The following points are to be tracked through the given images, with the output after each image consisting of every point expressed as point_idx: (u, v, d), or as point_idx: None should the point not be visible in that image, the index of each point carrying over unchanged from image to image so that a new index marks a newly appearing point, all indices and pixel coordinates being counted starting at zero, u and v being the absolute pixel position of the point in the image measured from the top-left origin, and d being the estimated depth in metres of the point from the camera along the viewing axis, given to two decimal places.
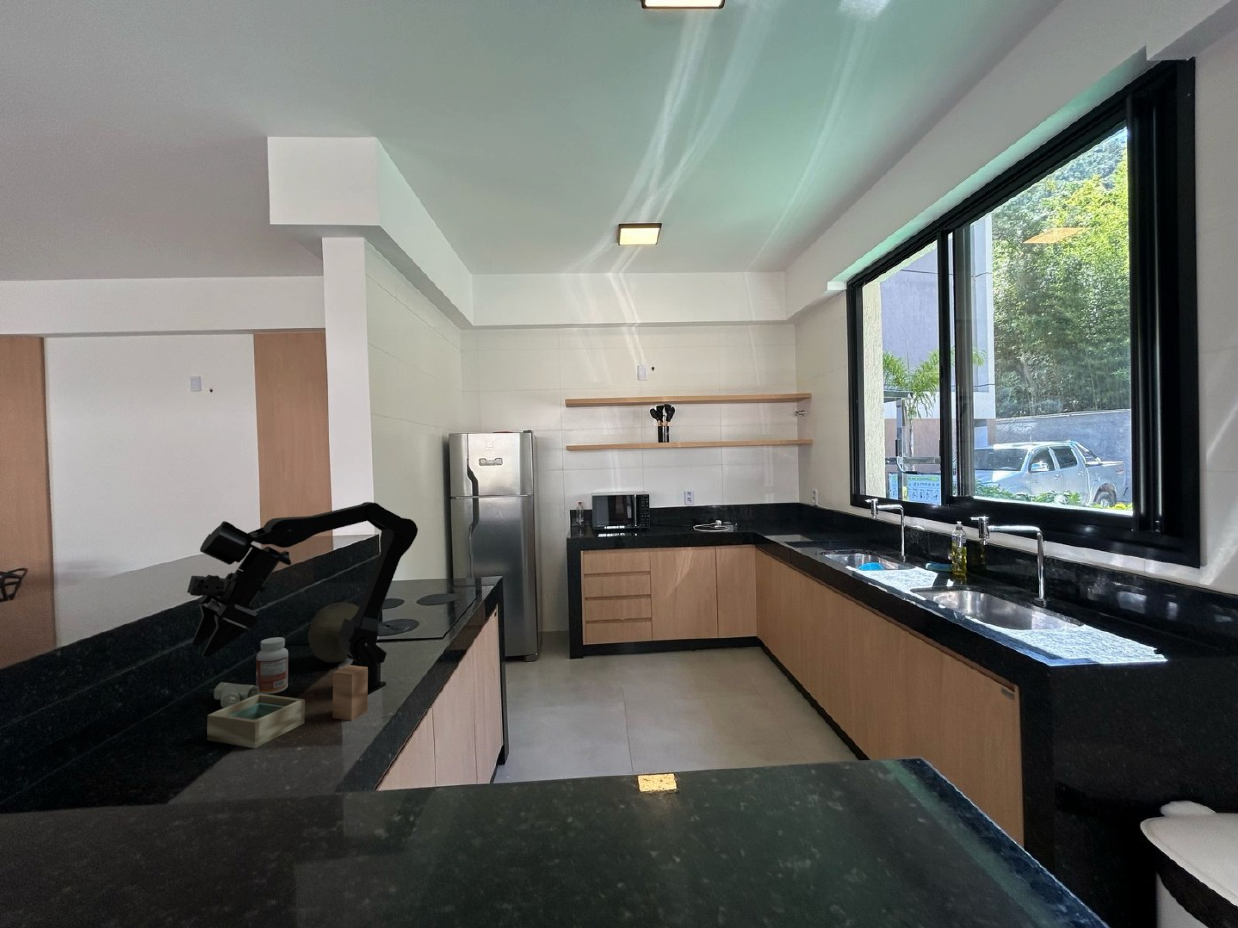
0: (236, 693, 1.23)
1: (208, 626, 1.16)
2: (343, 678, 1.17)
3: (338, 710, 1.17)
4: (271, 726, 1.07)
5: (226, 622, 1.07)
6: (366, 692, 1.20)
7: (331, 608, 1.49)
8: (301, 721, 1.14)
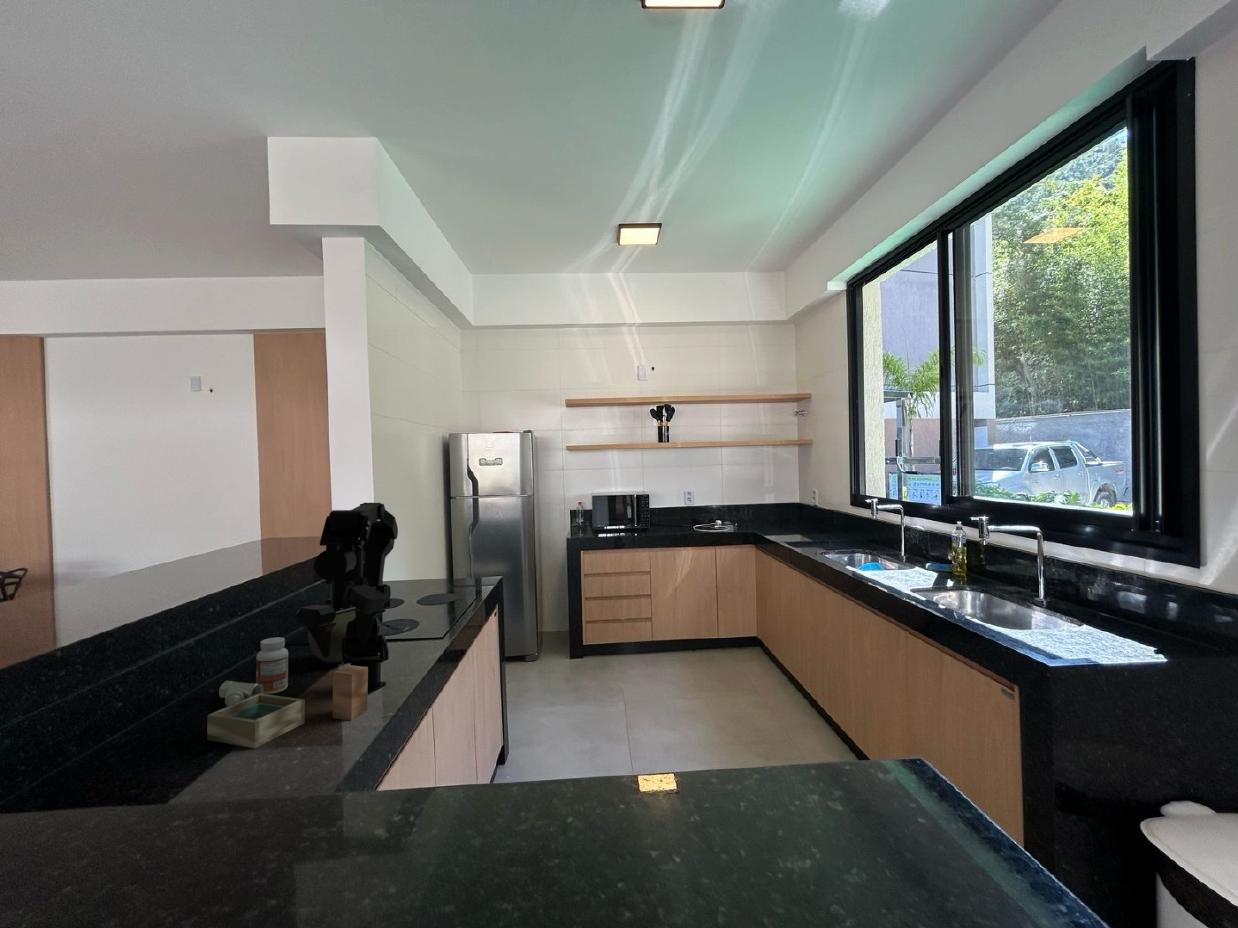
0: (240, 691, 1.23)
1: None
2: (343, 678, 1.17)
3: (338, 710, 1.17)
4: (271, 726, 1.07)
5: None
6: (366, 692, 1.20)
7: None
8: (301, 721, 1.14)
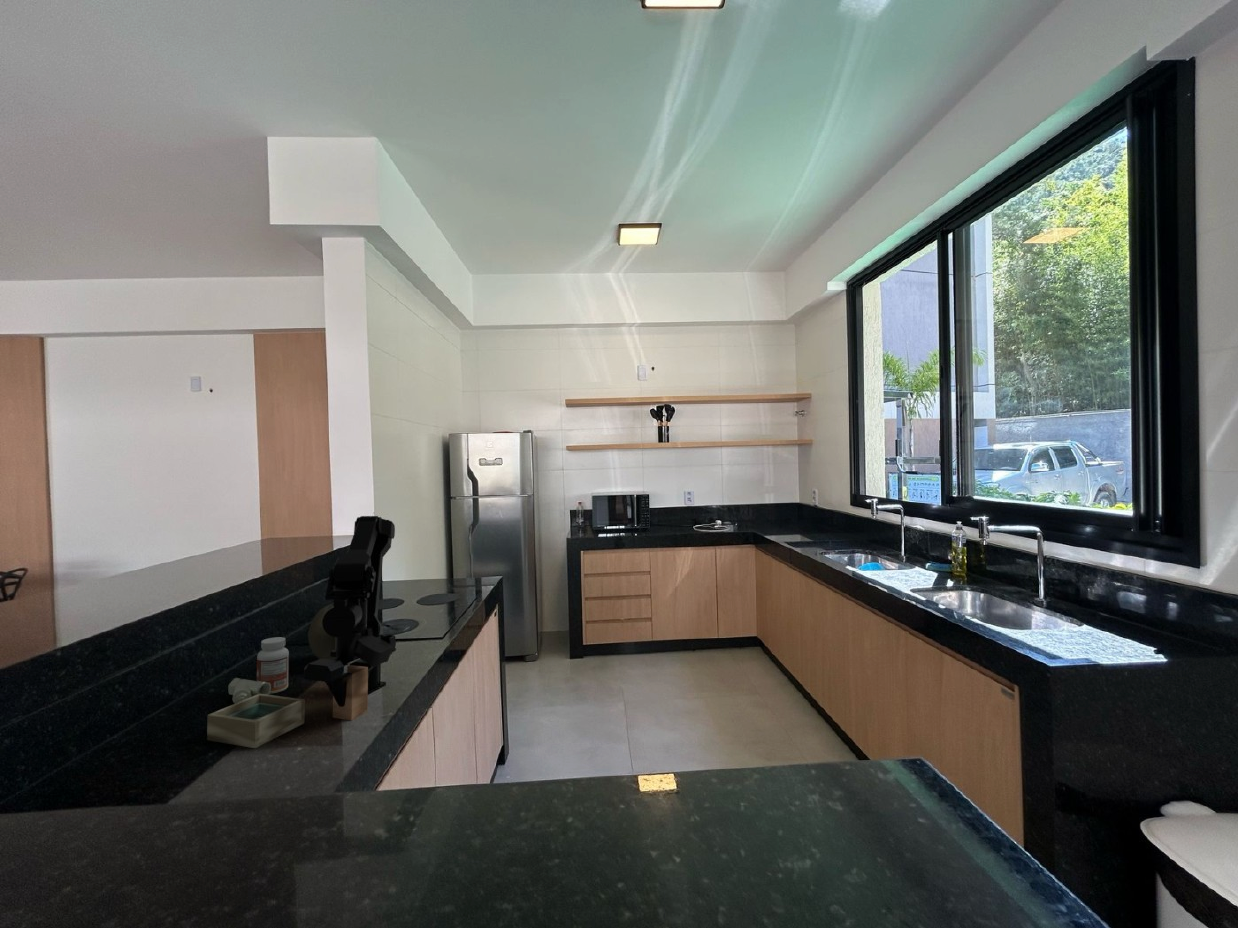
0: (248, 689, 1.25)
1: None
2: None
3: (338, 710, 1.17)
4: (271, 726, 1.07)
5: None
6: (366, 692, 1.20)
7: None
8: (301, 721, 1.14)
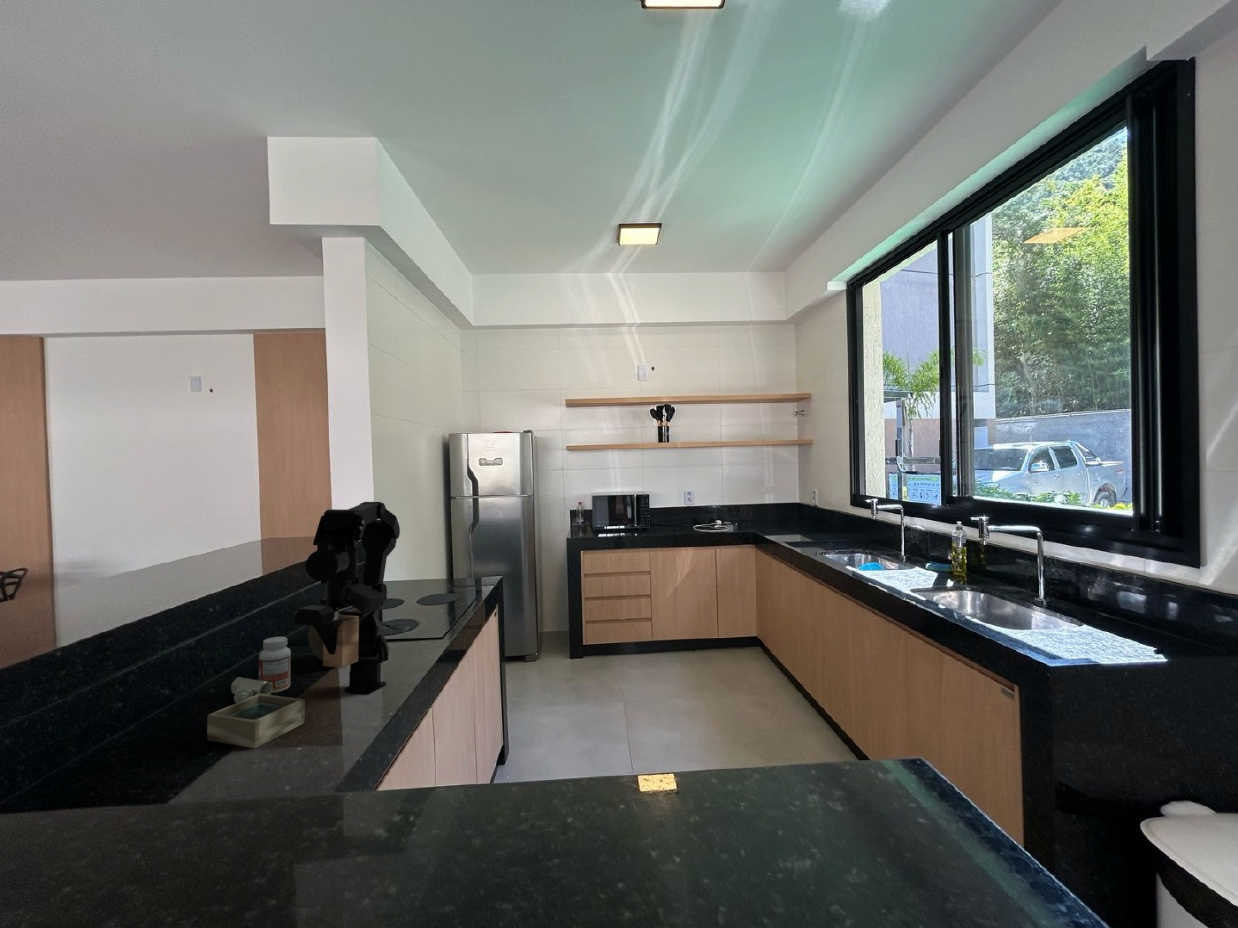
0: (249, 689, 1.25)
1: None
2: None
3: (329, 658, 1.16)
4: (271, 726, 1.07)
5: None
6: (357, 641, 1.19)
7: None
8: (301, 721, 1.14)
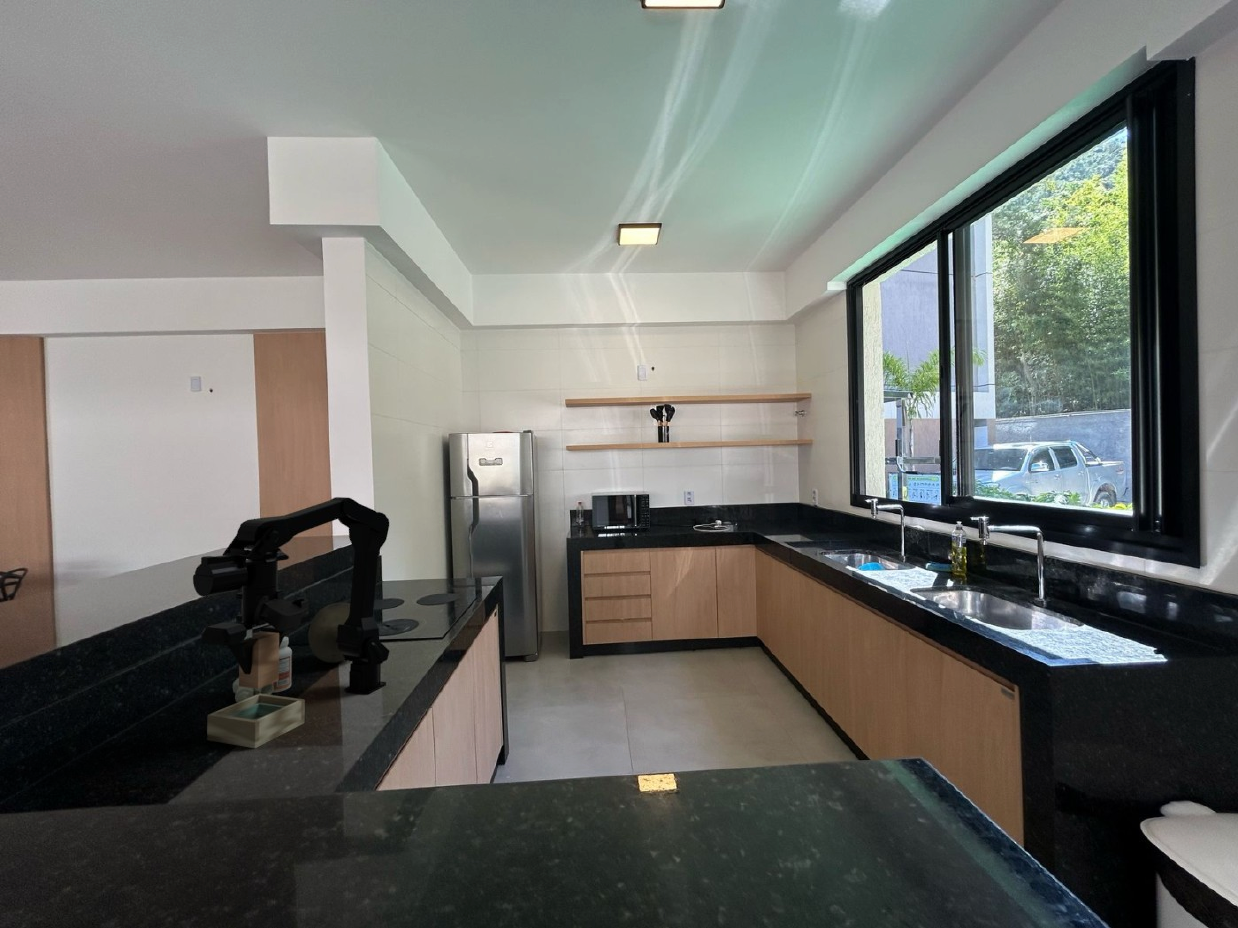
0: (250, 688, 1.25)
1: None
2: None
3: (244, 678, 1.09)
4: (271, 726, 1.07)
5: None
6: (277, 660, 1.12)
7: (331, 608, 1.49)
8: (301, 721, 1.14)
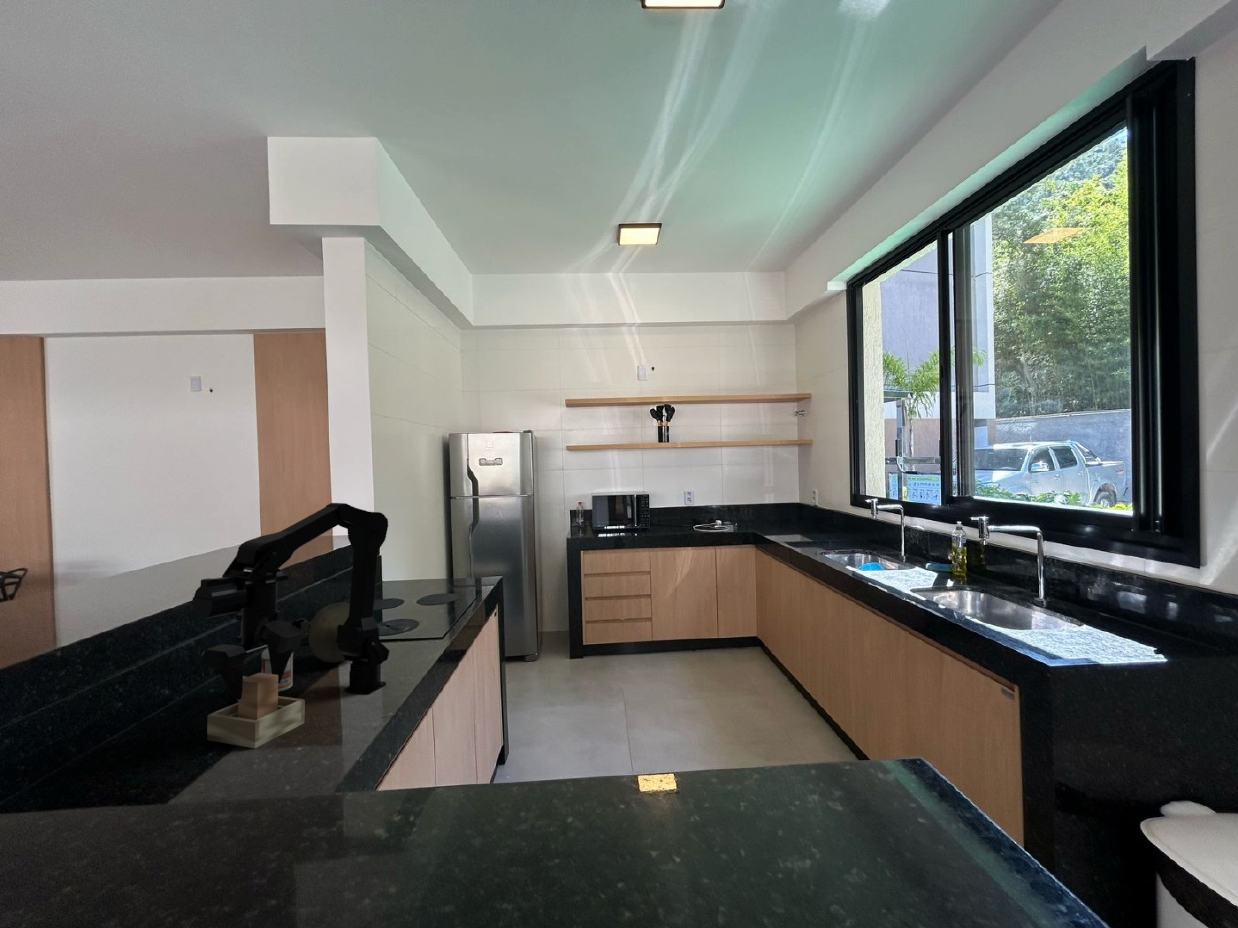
0: None
1: None
2: (249, 687, 1.09)
3: None
4: (271, 726, 1.07)
5: None
6: (276, 702, 1.12)
7: (331, 608, 1.49)
8: (301, 721, 1.14)
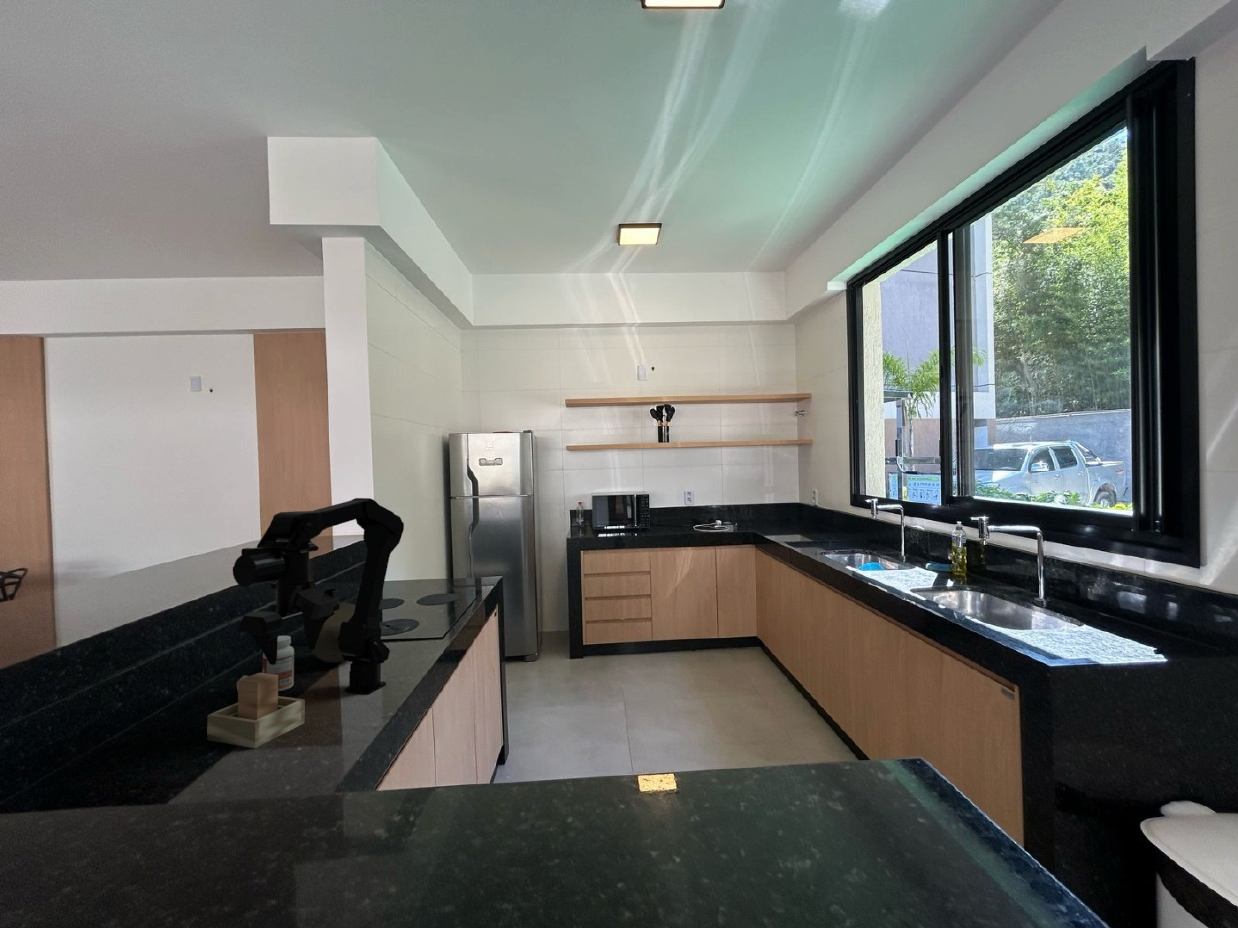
0: None
1: None
2: (249, 687, 1.09)
3: None
4: (271, 726, 1.07)
5: None
6: (276, 702, 1.12)
7: None
8: (301, 721, 1.14)
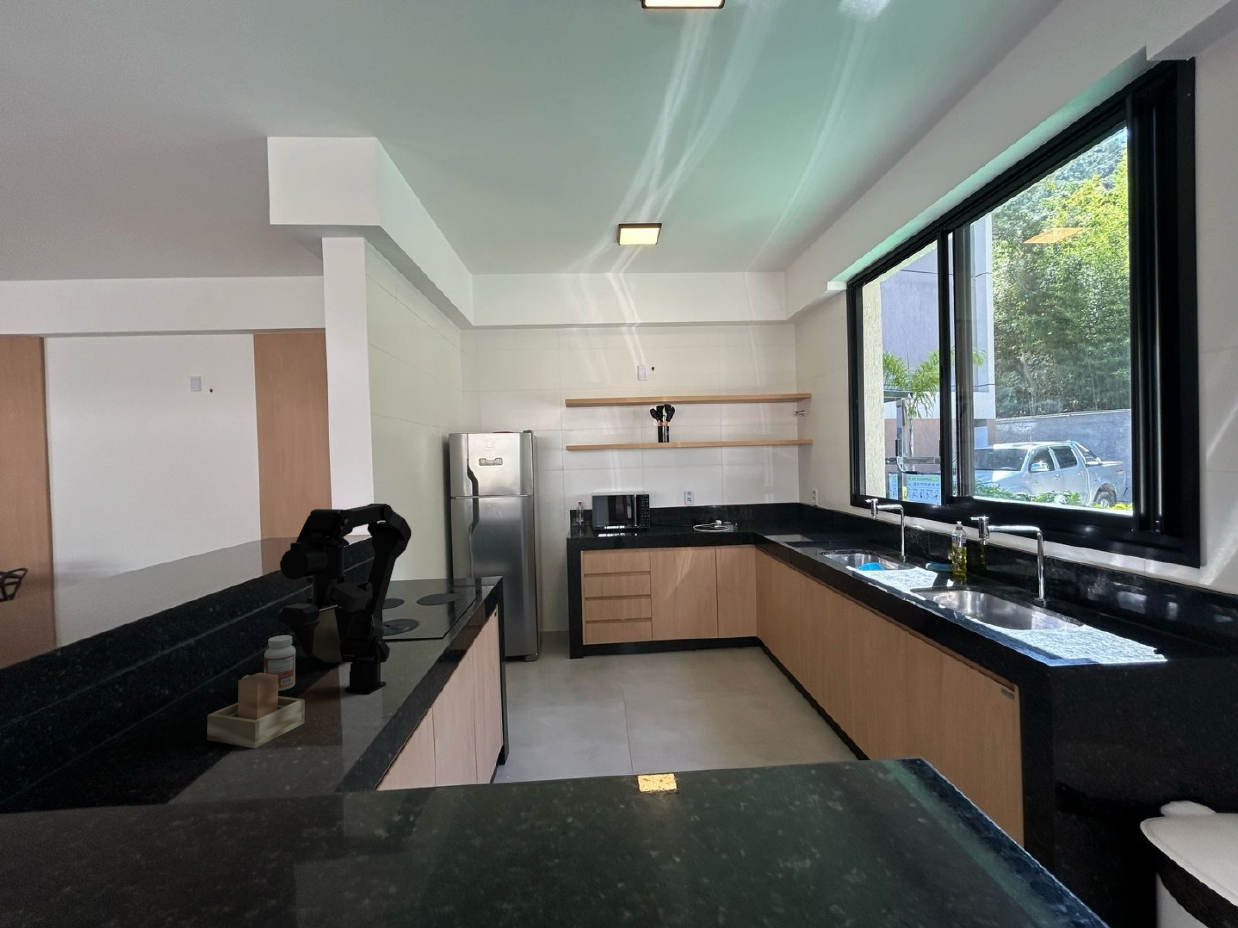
0: None
1: None
2: (249, 687, 1.09)
3: None
4: (271, 726, 1.07)
5: None
6: (276, 702, 1.12)
7: None
8: (301, 721, 1.14)
